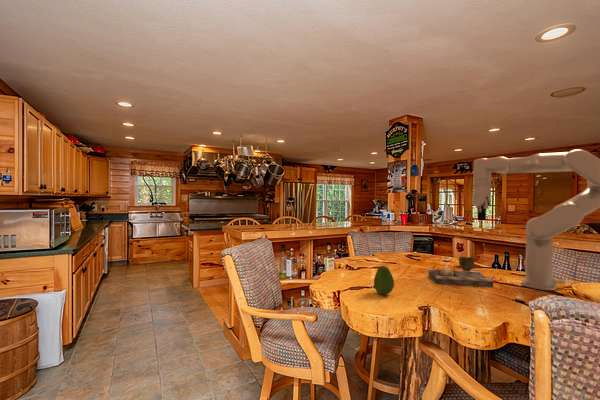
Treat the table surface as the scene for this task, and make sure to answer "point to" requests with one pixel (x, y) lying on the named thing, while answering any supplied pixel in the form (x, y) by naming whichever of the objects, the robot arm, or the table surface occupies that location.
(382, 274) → the avocado
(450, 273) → the maple ball
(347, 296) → the table surface
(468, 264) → the cup
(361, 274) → the table surface
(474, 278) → the track board
